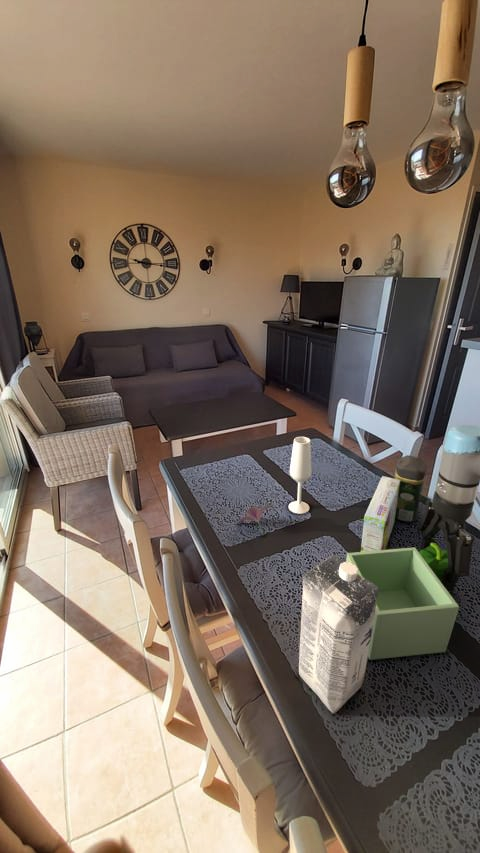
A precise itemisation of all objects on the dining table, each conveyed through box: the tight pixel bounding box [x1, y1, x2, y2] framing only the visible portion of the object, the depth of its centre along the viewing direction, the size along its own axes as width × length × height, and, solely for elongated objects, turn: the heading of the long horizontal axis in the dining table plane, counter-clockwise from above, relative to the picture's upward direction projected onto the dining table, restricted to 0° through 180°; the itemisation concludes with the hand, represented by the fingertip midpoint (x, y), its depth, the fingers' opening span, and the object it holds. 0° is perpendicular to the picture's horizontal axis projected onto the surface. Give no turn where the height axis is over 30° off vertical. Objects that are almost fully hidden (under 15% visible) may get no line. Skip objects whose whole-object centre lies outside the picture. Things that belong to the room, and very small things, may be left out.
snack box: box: [360, 475, 400, 552], centre depth 98 cm, size 21×6×15 cm, turn 149°
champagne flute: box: [288, 436, 313, 515], centre depth 111 cm, size 7×7×24 cm
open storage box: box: [345, 546, 460, 661], centre depth 76 cm, size 16×16×13 cm
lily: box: [236, 503, 274, 536], centre depth 106 cm, size 12×12×10 cm
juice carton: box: [298, 554, 378, 715], centre depth 62 cm, size 9×10×27 cm
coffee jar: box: [394, 454, 427, 523], centre depth 108 cm, size 10×8×19 cm
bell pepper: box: [418, 542, 449, 583], centre depth 85 cm, size 8×8×10 cm
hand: (435, 574), depth 86 cm, fingers closed on bell pepper, 8 cm apart
